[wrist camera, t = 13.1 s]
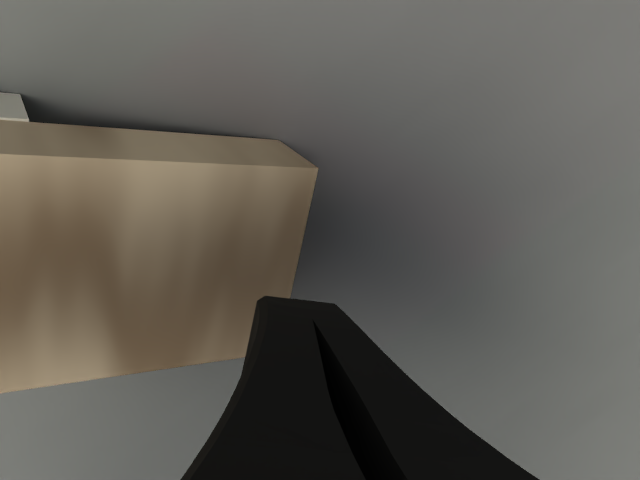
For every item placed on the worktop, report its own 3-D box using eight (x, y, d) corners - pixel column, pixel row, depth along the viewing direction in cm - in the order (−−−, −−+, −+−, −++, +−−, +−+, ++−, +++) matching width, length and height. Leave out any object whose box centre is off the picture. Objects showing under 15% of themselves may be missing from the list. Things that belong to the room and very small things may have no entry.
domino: (278, 352, 14) (-133, 413, 10) (246, 309, 16) (-120, 346, 11) (318, 168, 12) (-165, 146, 8) (278, 140, 14) (-145, 109, 10)
